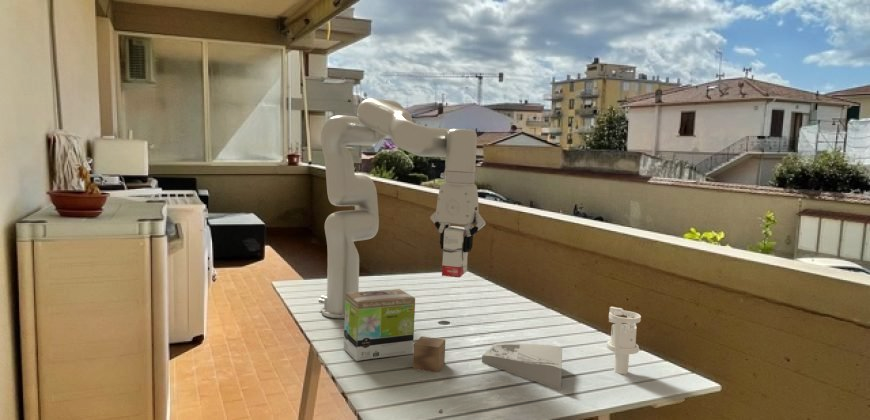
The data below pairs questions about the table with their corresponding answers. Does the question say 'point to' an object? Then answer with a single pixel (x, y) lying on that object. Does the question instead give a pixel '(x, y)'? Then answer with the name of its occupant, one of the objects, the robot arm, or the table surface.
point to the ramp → (528, 361)
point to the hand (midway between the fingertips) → (455, 249)
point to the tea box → (379, 324)
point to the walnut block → (429, 354)
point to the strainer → (623, 337)
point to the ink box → (454, 252)
